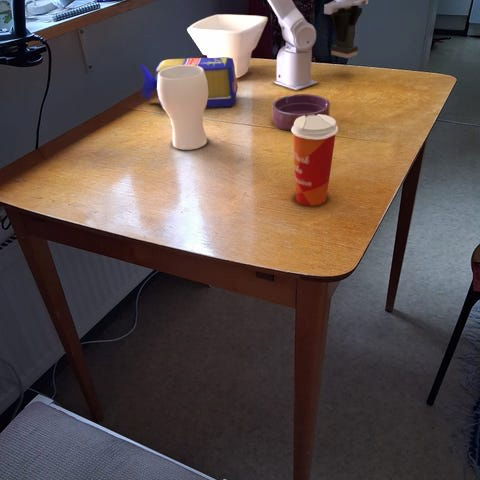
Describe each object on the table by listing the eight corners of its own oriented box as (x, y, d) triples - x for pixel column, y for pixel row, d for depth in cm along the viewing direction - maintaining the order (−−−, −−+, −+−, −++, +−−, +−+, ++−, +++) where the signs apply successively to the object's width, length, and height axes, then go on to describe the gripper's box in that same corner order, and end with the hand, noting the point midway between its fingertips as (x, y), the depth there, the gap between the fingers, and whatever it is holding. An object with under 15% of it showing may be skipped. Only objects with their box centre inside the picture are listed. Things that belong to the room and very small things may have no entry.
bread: (235, 109, 123) (233, 65, 116) (142, 111, 126) (133, 68, 119) (239, 95, 131) (237, 53, 124) (150, 97, 133) (143, 56, 126)
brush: (331, 54, 133) (332, 24, 129) (341, 51, 135) (343, 21, 130) (347, 58, 130) (349, 28, 125) (357, 55, 132) (360, 24, 127)
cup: (219, 135, 112) (213, 65, 101) (202, 155, 105) (194, 81, 94) (178, 131, 115) (168, 63, 104) (158, 150, 107) (146, 78, 97)
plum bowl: (260, 121, 116) (260, 104, 114) (301, 106, 122) (301, 90, 119) (299, 137, 108) (299, 119, 106) (340, 120, 114) (341, 103, 111)
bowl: (217, 64, 153) (213, 13, 143) (273, 69, 146) (273, 16, 136) (187, 83, 141) (181, 28, 131) (247, 89, 134) (245, 32, 124)
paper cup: (287, 190, 91) (288, 115, 82) (327, 186, 91) (332, 111, 82) (293, 211, 86) (295, 133, 76) (336, 207, 86) (343, 128, 76)
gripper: (340, -15, 116) (335, 48, 125) (380, -24, 122) (373, 36, 131) (319, -17, 120) (316, 43, 129) (359, -27, 126) (353, 32, 135)
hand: (343, 40), depth 130 cm, fingers closed on brush, 2 cm apart
